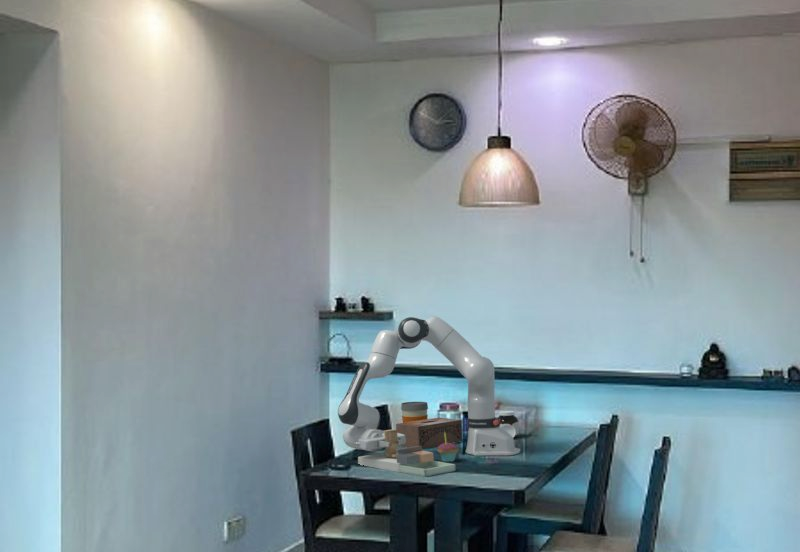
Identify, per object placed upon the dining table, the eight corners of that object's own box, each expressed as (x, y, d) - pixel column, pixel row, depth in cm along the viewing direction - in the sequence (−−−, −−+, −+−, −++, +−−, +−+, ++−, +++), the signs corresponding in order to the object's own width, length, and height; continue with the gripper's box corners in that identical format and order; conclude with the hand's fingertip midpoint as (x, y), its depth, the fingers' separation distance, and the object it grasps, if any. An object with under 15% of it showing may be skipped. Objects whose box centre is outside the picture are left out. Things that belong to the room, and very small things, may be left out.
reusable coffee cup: (410, 433, 495) (409, 401, 495) (433, 434, 489) (432, 401, 489) (396, 436, 484) (395, 404, 484) (420, 437, 478) (419, 405, 478)
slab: (358, 464, 412) (358, 457, 412) (387, 459, 421) (387, 452, 422) (399, 472, 393) (398, 463, 393) (429, 466, 402) (428, 458, 402)
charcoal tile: (396, 462, 395) (396, 454, 395) (409, 460, 399) (408, 452, 399) (407, 464, 390) (407, 456, 390) (419, 462, 394) (419, 454, 394)
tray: (399, 472, 393) (398, 465, 393) (429, 466, 402) (428, 460, 402) (425, 476, 381) (425, 469, 381) (455, 471, 391) (455, 464, 391)
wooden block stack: (377, 457, 405) (376, 431, 405) (401, 453, 413) (399, 428, 413) (398, 460, 395) (397, 433, 396) (422, 456, 403) (420, 430, 403)
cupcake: (452, 463, 408) (451, 432, 408) (433, 461, 413) (432, 431, 413) (462, 459, 416) (461, 429, 416) (444, 458, 420) (443, 428, 420)
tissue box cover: (418, 450, 445) (418, 426, 445) (396, 446, 456) (395, 423, 456) (462, 442, 462) (461, 419, 462) (440, 439, 473) (439, 417, 473)
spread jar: (511, 435, 476) (510, 409, 476) (526, 438, 467) (525, 412, 467) (489, 438, 470) (489, 412, 470) (505, 441, 460) (504, 414, 460)
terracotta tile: (411, 460, 400) (411, 452, 399) (423, 458, 403) (423, 450, 403) (421, 462, 395) (421, 454, 395) (433, 460, 399) (433, 452, 399)
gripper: (351, 435, 410) (373, 438, 399) (392, 429, 423) (414, 432, 413) (352, 451, 410) (374, 455, 399) (392, 445, 423) (414, 448, 413)
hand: (394, 443), depth 406 cm, fingers closed on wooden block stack, 3 cm apart
